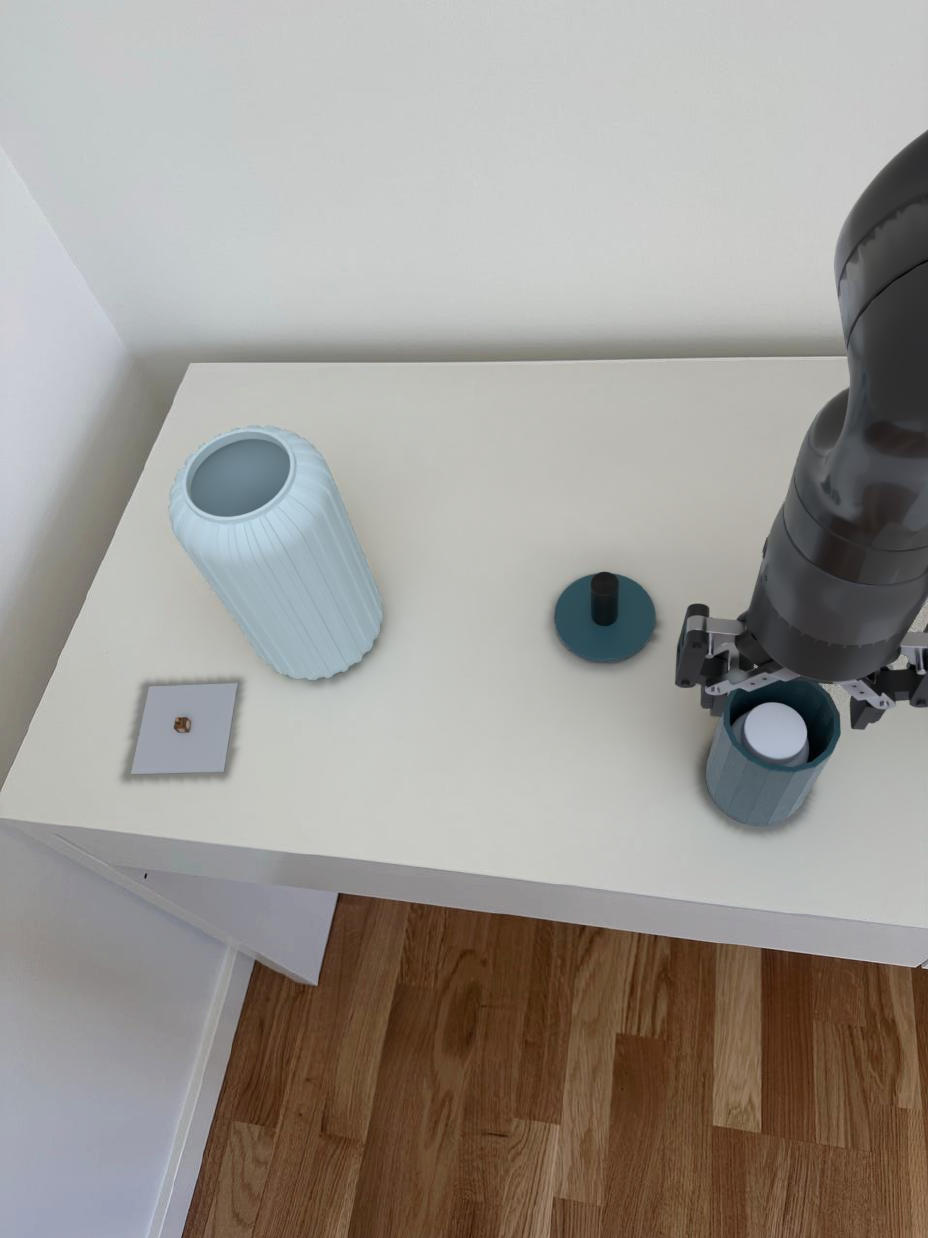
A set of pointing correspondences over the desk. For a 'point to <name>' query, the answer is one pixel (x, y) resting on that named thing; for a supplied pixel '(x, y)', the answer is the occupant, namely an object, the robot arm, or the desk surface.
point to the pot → (755, 784)
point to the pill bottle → (773, 734)
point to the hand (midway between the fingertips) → (785, 709)
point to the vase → (278, 549)
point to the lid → (604, 617)
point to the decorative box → (185, 729)
